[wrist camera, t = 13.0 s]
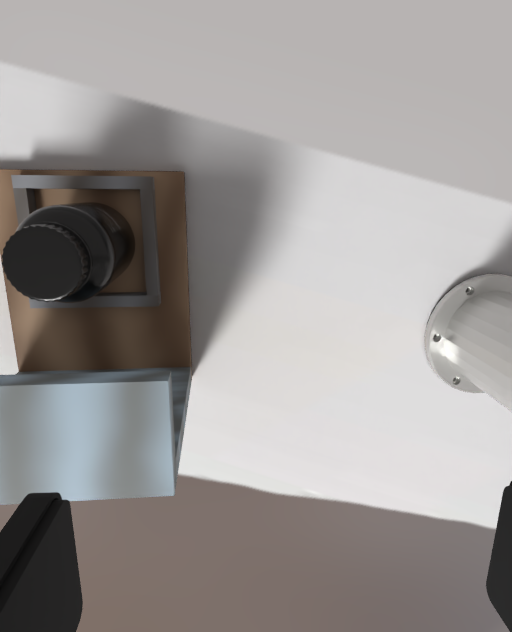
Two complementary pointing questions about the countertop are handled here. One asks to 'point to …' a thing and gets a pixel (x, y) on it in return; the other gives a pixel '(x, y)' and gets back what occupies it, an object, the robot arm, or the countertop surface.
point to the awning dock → (100, 350)
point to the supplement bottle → (68, 252)
